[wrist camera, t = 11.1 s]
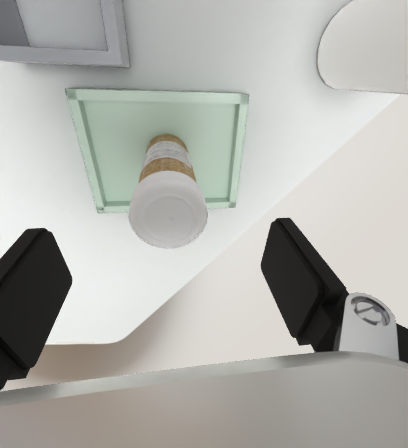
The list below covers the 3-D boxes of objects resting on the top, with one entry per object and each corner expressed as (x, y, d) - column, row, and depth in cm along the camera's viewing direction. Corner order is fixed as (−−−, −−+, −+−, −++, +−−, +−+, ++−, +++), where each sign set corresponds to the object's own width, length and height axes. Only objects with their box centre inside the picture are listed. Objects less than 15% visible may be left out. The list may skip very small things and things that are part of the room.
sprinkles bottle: (179, 180, 26) (190, 258, 14) (139, 166, 24) (118, 240, 13) (195, 142, 24) (222, 199, 12) (153, 124, 22) (140, 169, 11)
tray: (72, 88, 20) (64, 88, 19) (243, 93, 22) (249, 94, 21) (101, 205, 27) (97, 213, 25) (231, 200, 29) (235, 207, 27)
